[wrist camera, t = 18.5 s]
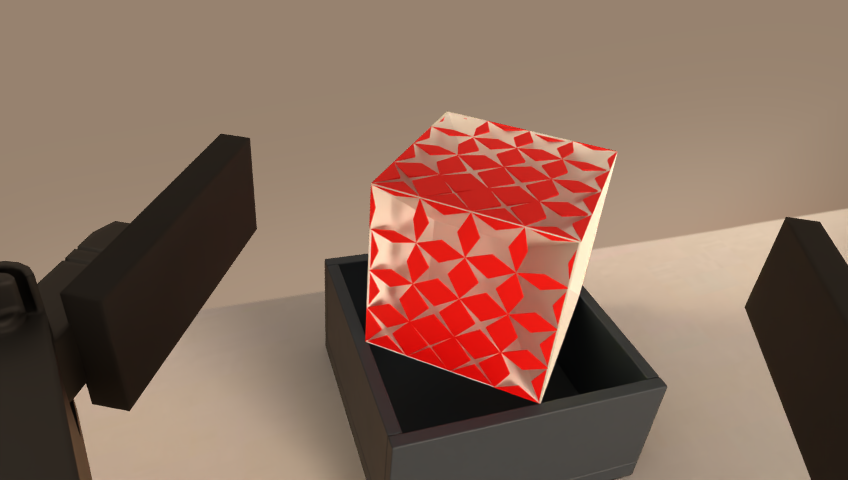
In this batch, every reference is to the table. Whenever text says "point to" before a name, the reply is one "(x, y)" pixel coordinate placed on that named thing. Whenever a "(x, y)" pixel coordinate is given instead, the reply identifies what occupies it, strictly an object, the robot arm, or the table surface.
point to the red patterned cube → (483, 249)
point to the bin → (489, 402)
